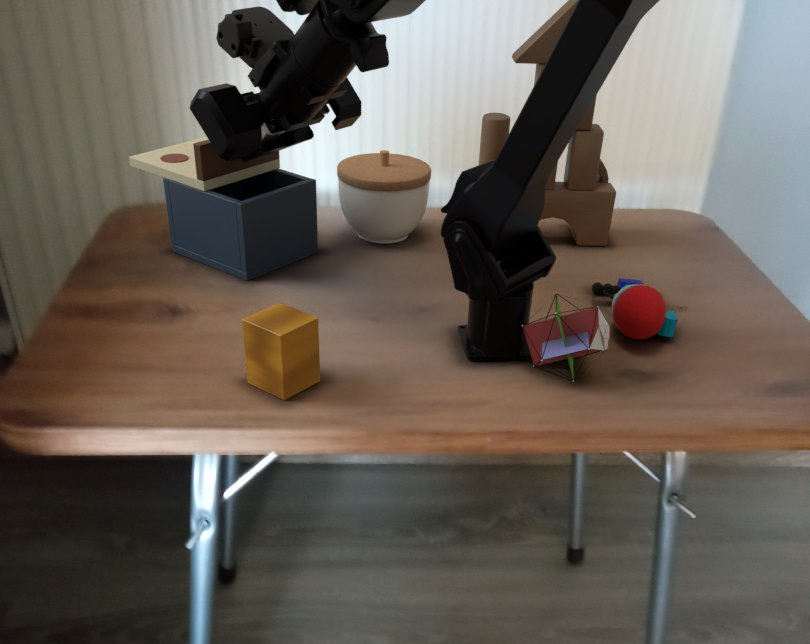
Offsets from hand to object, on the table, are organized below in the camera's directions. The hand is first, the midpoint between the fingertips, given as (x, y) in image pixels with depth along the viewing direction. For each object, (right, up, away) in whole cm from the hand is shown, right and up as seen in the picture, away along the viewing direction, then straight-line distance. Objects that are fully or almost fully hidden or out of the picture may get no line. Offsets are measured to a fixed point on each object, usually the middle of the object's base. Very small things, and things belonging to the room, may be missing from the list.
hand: (243, 158), depth 94 cm
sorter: (-1, -8, +7) cm, 10 cm away
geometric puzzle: (+31, -25, -12) cm, 42 cm away
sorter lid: (-5, +1, +4) cm, 7 cm away
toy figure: (+40, -18, -4) cm, 44 cm away
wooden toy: (+33, -3, +14) cm, 36 cm away
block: (+6, -26, -16) cm, 31 cm away
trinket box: (+14, -4, +13) cm, 19 cm away
